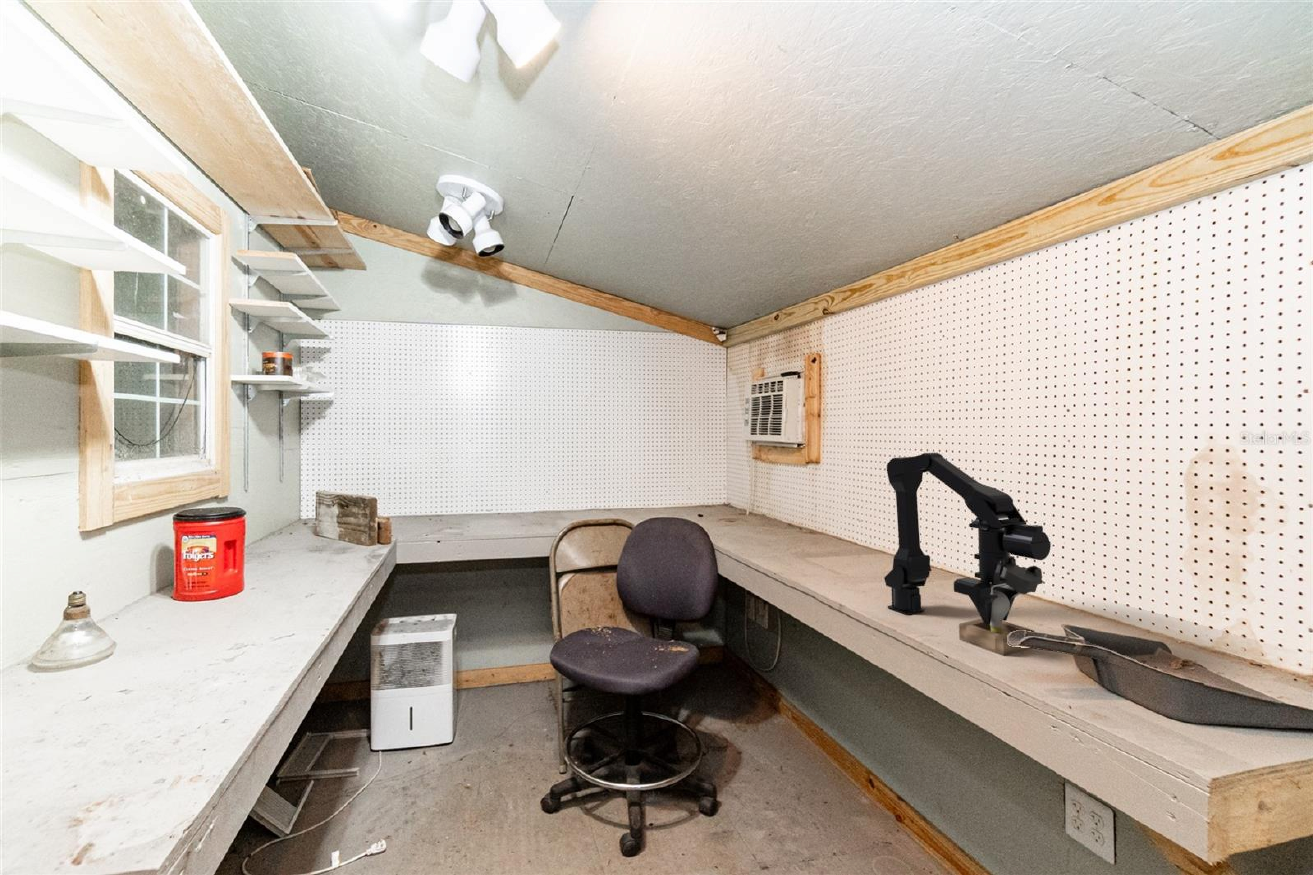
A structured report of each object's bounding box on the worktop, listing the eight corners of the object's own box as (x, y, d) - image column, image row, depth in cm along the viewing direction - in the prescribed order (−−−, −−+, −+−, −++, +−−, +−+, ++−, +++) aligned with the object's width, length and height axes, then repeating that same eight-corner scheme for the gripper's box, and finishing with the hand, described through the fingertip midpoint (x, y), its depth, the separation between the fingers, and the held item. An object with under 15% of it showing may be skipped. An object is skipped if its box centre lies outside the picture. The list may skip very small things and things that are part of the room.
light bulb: (978, 637, 119) (976, 591, 119) (985, 629, 123) (984, 585, 122) (1007, 643, 115) (1005, 596, 115) (1014, 635, 119) (1012, 589, 119)
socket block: (959, 639, 121) (959, 623, 121) (989, 631, 125) (989, 616, 125) (1003, 655, 112) (1003, 638, 112) (1034, 646, 116) (1034, 630, 116)
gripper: (1001, 563, 108) (1003, 642, 108) (1060, 553, 115) (1062, 626, 115) (951, 552, 118) (952, 624, 118) (1008, 543, 125) (1009, 611, 125)
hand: (995, 622), depth 119 cm, fingers open, 5 cm apart
